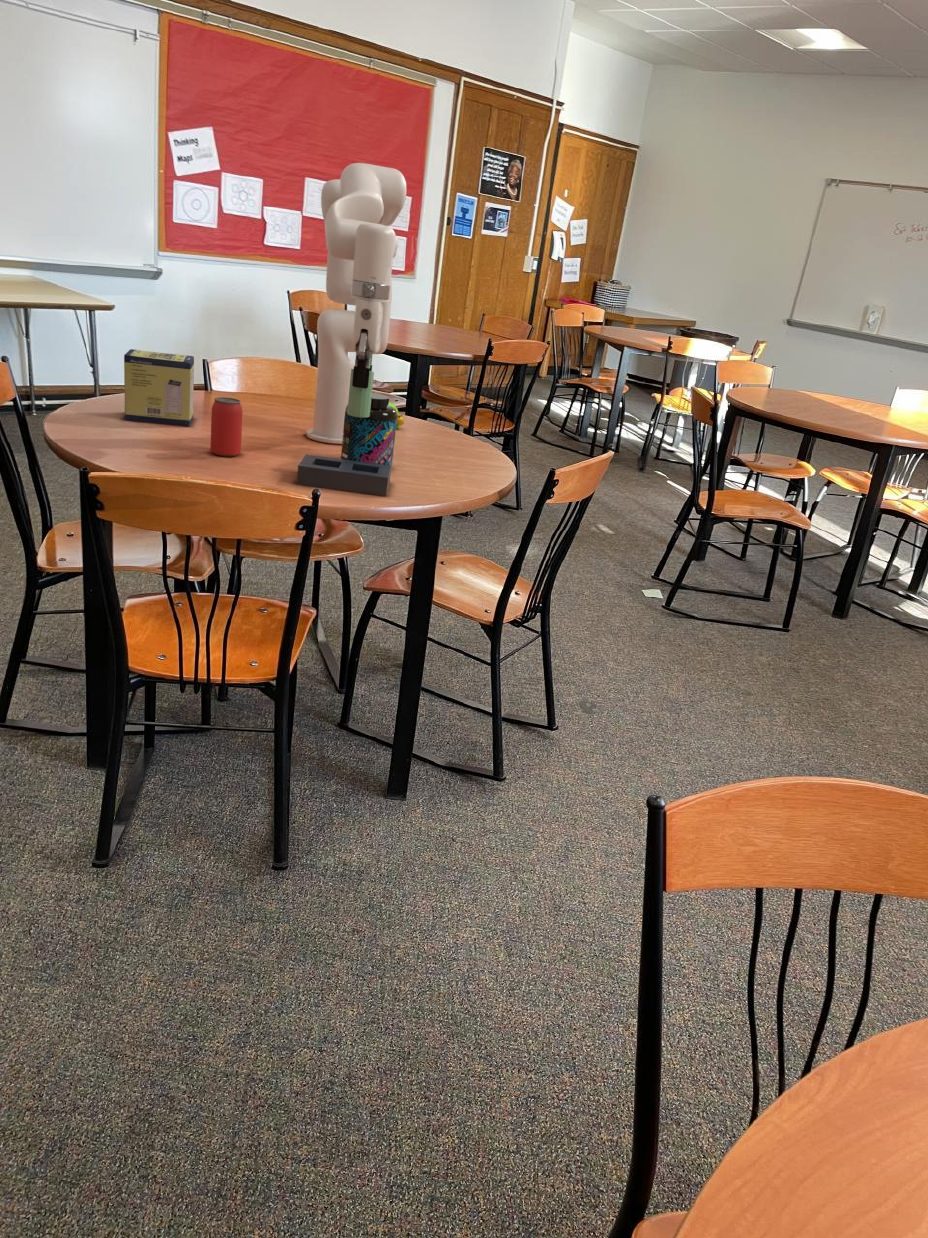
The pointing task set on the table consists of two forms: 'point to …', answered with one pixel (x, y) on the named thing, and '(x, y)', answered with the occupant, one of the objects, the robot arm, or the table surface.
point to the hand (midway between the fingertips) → (361, 384)
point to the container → (371, 433)
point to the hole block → (344, 475)
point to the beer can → (226, 427)
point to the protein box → (158, 387)
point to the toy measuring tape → (399, 417)
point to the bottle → (360, 398)
